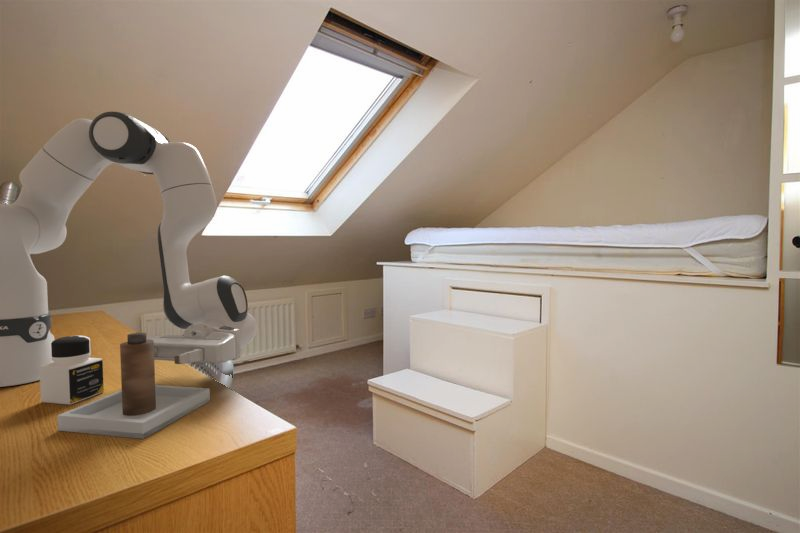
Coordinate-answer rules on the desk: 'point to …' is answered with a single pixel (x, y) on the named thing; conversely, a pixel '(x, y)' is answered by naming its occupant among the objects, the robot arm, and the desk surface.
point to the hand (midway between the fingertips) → (155, 358)
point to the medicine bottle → (71, 372)
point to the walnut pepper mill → (137, 375)
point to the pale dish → (110, 420)
